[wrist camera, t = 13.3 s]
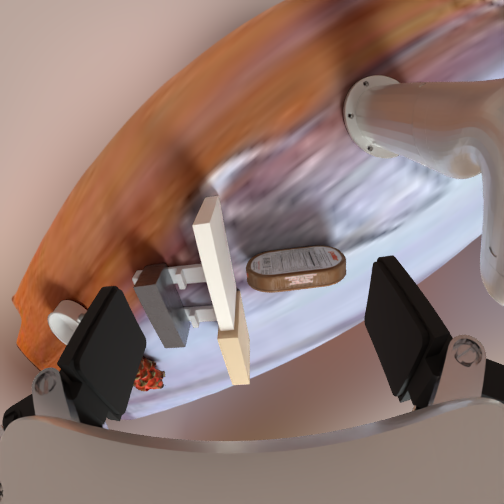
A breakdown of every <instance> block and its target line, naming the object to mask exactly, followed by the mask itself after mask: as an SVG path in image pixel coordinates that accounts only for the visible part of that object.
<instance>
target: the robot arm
mask: <svg viewBox="0 0 504 504" xmlns="http://www.w3.org/2000/svg"><path fill="white" fill-rule="evenodd" d="M363 83H365V86H364V85H363ZM348 114H350V117H348ZM343 115H344V122H345V126H346V129H347V131H348V134H349V135H350V137H351V139H352V140H353V141H354V142H355V144H356V145H357V146H358V147H359V148H361V149H362V150H363V151H364V152H366V153H368V154H370V155H372V156H375V157H379V158H394V157H397V156H399V155H400V156H403V157H405V158H408V159H410V160H412V161H415V162H417V163H419V164H421V165H423V166H426V167H428V168H430V169H432V170H434V171H436V172H439V173H441V174H443V175H445V176H447V177H450V178H455V179H467V178H471V177H474V176H476V175H478V174H480V173H482V181H483V198H484V205H483V228H482V243H481V255H480V270H481V277H482V281H483V284H484V286H485V288H486V290H487V291H488V293H489V294H490V295H491V297H492V298H493V299H494V300H495V301H497V302H498V303H499V304H500V305H502V306H504V78H503V79H495V80H487V81H474V82H417V83H400V82H398V81H397V80H395V79H393V78H390V77H387V76H382V75H374V76H369V77H366V78H363V79H361V80H359V81H358V82H356V83H355V84H354V85H353V86H352V87H351V89H350V90H349V92H348V93H347V96H346V99H345V101H344V108H343ZM368 146H369V149H367V148H368ZM365 326H366V328H367V330H368V333H369V335H370V337H371V340H372V342H373V345H374V347H375V350H376V352H377V354H378V357H379V359H380V362H381V365H382V367H383V370H384V372H385V374H386V377H387V380H388V382H389V385H390V388H391V391H392V393H393V395H394V396H398V398H399V401H400V402H404V401H407V400H410V399H411V401H412V403H413V405H414V407H413V410H412V412H409V413H406V414H403V415H399V416H396V417H392V418H389V419H385V420H381V421H378V422H374V423H370V424H365V425H361V426H357V427H353V428H348V429H343V430H339V431H333V432H328V433H322V434H316V435H309V436H301V437H293V438H283V439H273V440H258V441H195V440H179V439H169V438H159V437H151V436H144V435H137V434H131V433H125V432H120V431H114V430H110V429H108V427H107V424H106V422H105V420H106V417H107V418H108V419H110V420H116V421H120V419H121V416H122V415H123V414H124V413H125V411H126V408H127V404H128V401H129V398H130V394H131V391H132V388H133V384H134V381H135V378H136V375H137V372H138V369H139V366H140V363H141V360H142V357H143V354H144V351H145V348H146V338H145V336H144V334H143V332H142V331H141V329H140V327H139V325H138V323H137V321H136V319H135V317H134V315H133V313H132V311H131V309H130V307H129V304H128V302H127V300H126V298H125V296H124V294H123V292H122V290H120V289H118V287H116V286H109V287H102V288H101V290H100V291H99V293H98V294H97V296H96V297H95V299H94V301H93V302H92V304H91V305H90V307H89V308H88V310H87V312H86V313H85V315H84V317H83V318H82V320H81V322H80V323H79V325H78V327H77V328H76V330H75V332H74V333H73V335H72V337H71V339H70V341H69V342H68V344H67V346H66V348H65V350H64V351H63V353H62V355H61V357H60V359H59V361H58V363H57V365H58V366H59V367H60V368H61V370H60V372H59V371H58V370H57V369H55V368H46V369H44V370H42V371H41V372H39V374H38V375H37V376H36V377H35V379H34V381H33V384H32V394H31V395H29V396H28V397H26V398H24V399H23V400H21V401H20V402H18V403H16V404H15V405H13V406H11V407H10V408H9V409H8V410H6V412H5V413H4V417H3V426H2V425H0V504H504V365H502V364H499V363H497V362H494V361H491V360H489V359H486V352H485V349H484V347H483V346H482V344H481V343H480V342H479V341H478V340H477V339H475V338H474V337H472V336H469V335H459V336H456V337H454V338H452V336H451V335H450V332H449V331H448V329H447V328H446V326H445V325H444V323H443V322H442V320H441V319H440V317H439V316H438V314H437V313H436V312H435V310H434V308H433V307H432V306H431V304H430V303H429V301H428V300H427V298H426V297H425V296H424V294H423V293H422V292H421V290H420V289H419V287H418V286H417V285H416V283H415V282H414V281H413V279H412V278H411V277H410V275H409V274H408V273H407V272H406V270H405V269H404V268H403V266H402V265H401V264H400V263H399V261H398V260H397V259H396V258H395V257H394V256H385V257H379V258H378V259H377V262H374V263H373V267H372V275H371V282H370V288H369V295H368V301H367V307H366V312H365Z"/></svg>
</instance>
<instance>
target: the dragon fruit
mask: <svg viewBox="0 0 504 504" xmlns="http://www.w3.org/2000/svg"><path fill="white" fill-rule="evenodd" d="M155 366H156V362H154V361H151V360H147V358H145V357H142V360H141V363H140V366H139V369H138V372H137V375H136V378H135V381H134V384H133V386H134V387H136V388H137V389H138V390H141V391H148V390H149V389H161V388H163V386H164V384H163V381H162V379H163V377H165V371H160V370H157V369H155ZM165 386H166V385H165Z"/></svg>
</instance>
